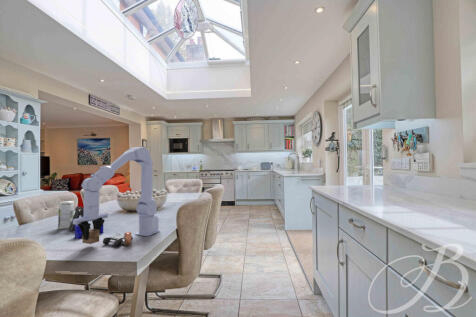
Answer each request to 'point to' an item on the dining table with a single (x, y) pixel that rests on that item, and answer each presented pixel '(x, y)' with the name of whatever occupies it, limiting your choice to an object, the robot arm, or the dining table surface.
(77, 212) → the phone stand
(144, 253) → the dining table surface
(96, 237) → the block
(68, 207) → the syrup box
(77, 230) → the cable clip
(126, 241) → the pin
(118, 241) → the dolly
